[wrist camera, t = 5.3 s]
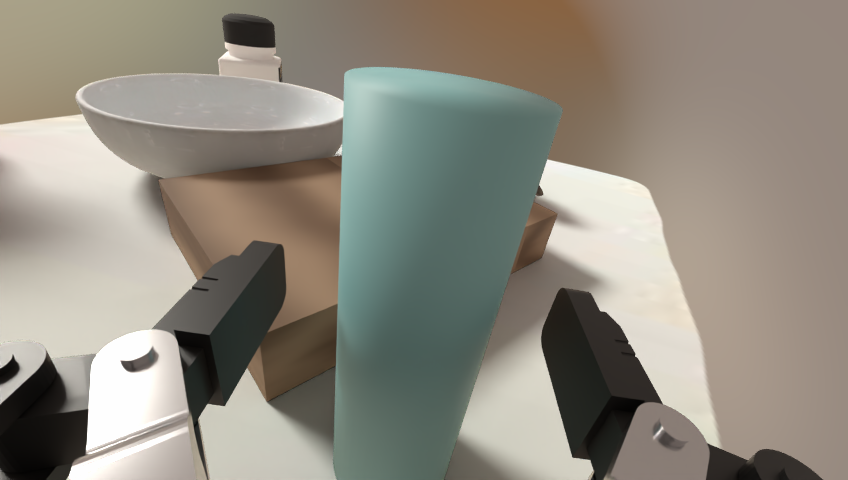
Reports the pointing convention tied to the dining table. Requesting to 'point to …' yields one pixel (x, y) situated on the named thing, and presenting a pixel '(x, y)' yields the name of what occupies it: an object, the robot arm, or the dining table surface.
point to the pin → (425, 256)
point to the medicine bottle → (250, 48)
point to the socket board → (288, 251)
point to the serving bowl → (210, 122)
